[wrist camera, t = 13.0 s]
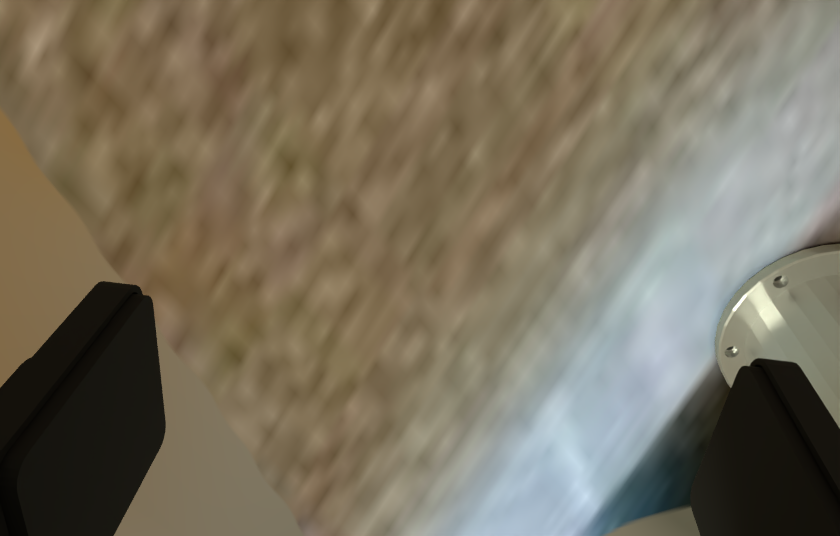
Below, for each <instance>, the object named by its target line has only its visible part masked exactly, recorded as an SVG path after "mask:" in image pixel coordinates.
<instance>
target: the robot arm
mask: <svg viewBox="0 0 840 536" xmlns="http://www.w3.org/2000/svg"><path fill="white" fill-rule="evenodd" d="M157 347H158V346H157V338H156V328H155V318H154V309H153V302H152V299H151V297H150V296H146V295H143V294H142V291H141V289H140V287H139V286H137V285H130V284H122V283H113V282H105V281H103V282H99V283H98V284H96V285H95V286H94V288H93V289H92V290H91V291H90V292H89V293H88V294H87V296H86V297H85V298H84V299H83V300H82V301H81V302H80V304H79V305H78V306H77V307H76V308H75V309H74V310H73V311H72V312H71V314H70V315H69V316H68V317H67V318H66V319H65V321H64V322H63V323H62V324H61V325H60V326H59V327H58V328H57V330H56V331H55V332H54V333H53V334H52V335H51V336H50V337H49V339H48V340H47V341H46V342H45V343H44V344H43V345H42V347H41V348H40V349H39V350H38V351H37V352H36V353H35V354H34V356H33V357H32V358H29V359H27V360H26V361H25V362H24V363H23V364H21V365H20V366H19V367H18V369H17V370H16V371H15V372H14V373H13V374H12V375H11V376H10V378H9V379H8V380H7V381H6V382H5V383H4V384H3V386H2V387H1V388H0V536H113V535H114V534H115V532H116V530H117V528H118V526H119V524H120V523H121V520H122V519H123V517H124V515H125V513H126V511H127V509H128V508H129V506H130V504H131V502H132V500H133V498H134V496H135V494H136V492H137V491H138V489H139V487H140V485H141V483H142V481H143V479H144V477H145V475H146V473H147V472H148V470H149V468H150V466H151V464H152V462H153V460H154V459H155V456H156V455H157V453H158V451H159V449H160V447H161V445H162V442H163V439H164V434H165V414H164V403H163V394H162V384H161V375H160V365H159V356H158V348H157ZM715 353H716V359H717V362H718V364H719V367H720V370H721V372H722V374H723V376H724V378H725V379H726V381H727V383H728V385H729V386H730V387H731V390H730V392H729V395H728V397H727V400H726V402H725V405H724V407H723V410H722V412H721V415H720V417H719V420H718V422H717V425H716V427H715V430H714V432H713V435H712V437H711V440H710V442H709V445H708V447H707V450H706V452H705V455H704V457H703V460H702V462H701V465H700V467H699V470H698V472H697V475H696V477H695V480H694V482H693V485H692V488H691V507H692V511H693V514H694V517H695V520H696V523H697V526H698V529H699V532H700V535H701V536H840V244H831V245H822V246H818V247H813V248H809V249H805V250H802V251H799V252H796V253H794V254H791V255H788V256H786V257H783V258H781V259H780V260H778V261H776V262H774V263H772V264H771V265H769V266H767V267H765V268H763V269H762V270H761V271H760V272H758V273H757V274H756V275H754V276H753V277H752V278H750V279H749V280H748V281H747V282H746V283H745V284H744V285H743V286H742V287H741V288H740V289H739V290H738V291H737V292H736V293H735V294H734V296H733V297H732V299H731V300H730V302H729V303H728V305H727V306H726V308H725V309H724V311H723V313H722V316H721V318H720V321H719V323H718V326H717V331H716V337H715Z"/></svg>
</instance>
